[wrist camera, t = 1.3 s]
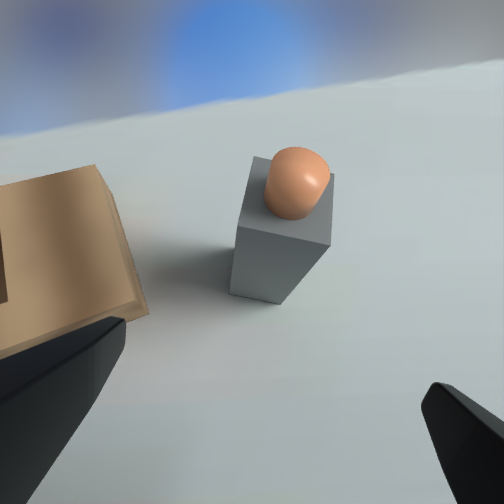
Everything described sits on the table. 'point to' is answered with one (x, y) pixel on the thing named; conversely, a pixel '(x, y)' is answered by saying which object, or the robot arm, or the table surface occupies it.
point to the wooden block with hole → (62, 259)
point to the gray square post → (282, 224)
